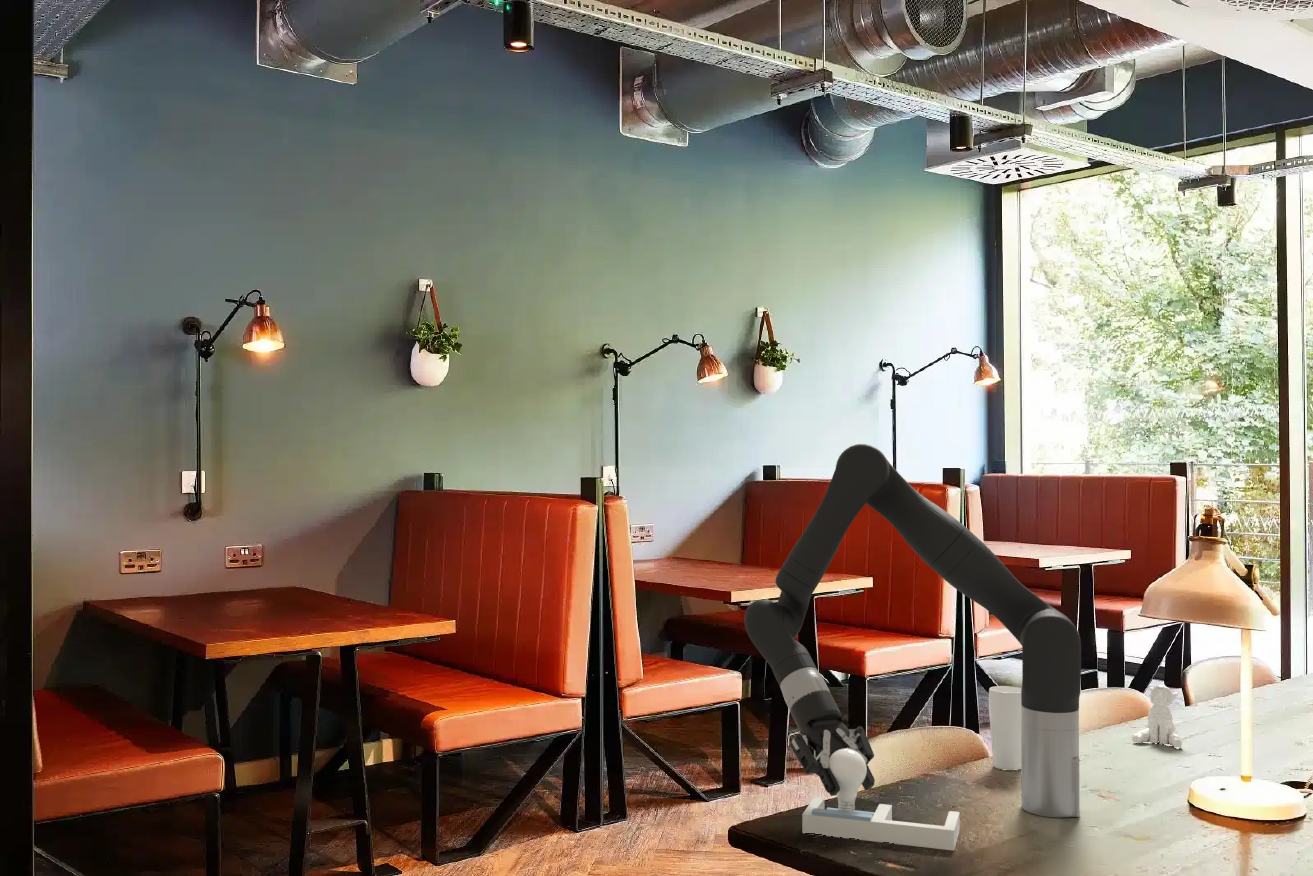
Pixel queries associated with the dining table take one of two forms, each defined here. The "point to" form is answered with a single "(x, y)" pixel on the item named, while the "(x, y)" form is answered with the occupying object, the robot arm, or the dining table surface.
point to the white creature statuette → (1160, 719)
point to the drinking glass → (1005, 726)
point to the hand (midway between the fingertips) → (853, 790)
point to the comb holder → (879, 826)
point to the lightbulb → (847, 776)
